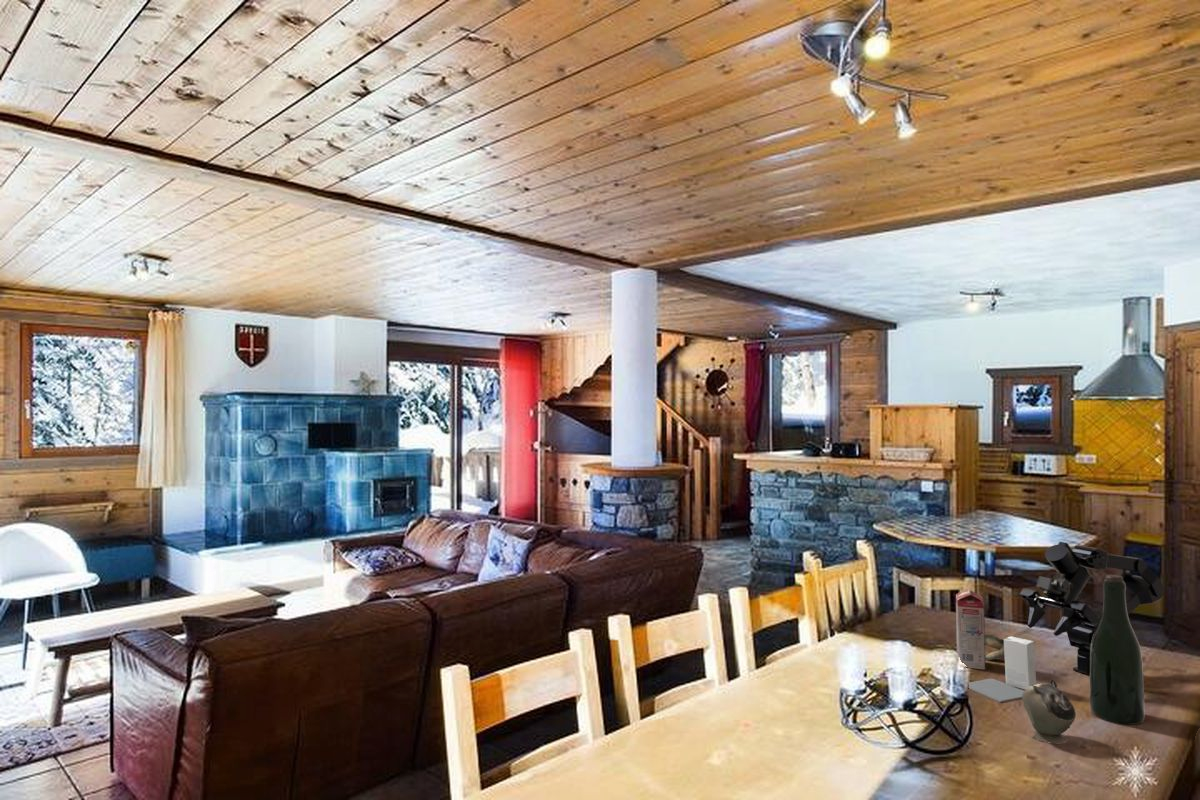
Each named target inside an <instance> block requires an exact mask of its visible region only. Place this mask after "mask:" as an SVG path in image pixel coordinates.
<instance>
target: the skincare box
mask: <svg viewBox="0 0 1200 800" xmlns="http://www.w3.org/2000/svg"><path fill="white" fill-rule="evenodd" d="M1003 640H1004V653H1005V657H1004V669H1005V684H1008V685H1010V686H1013V687H1015V688H1018V689H1020V690H1024V691H1025V690H1026V689H1027V688H1028V687H1030V686H1032V685H1037V676H1036V675H1037V674H1036V657H1035V656H1036V655H1035V654H1036V653H1035V641H1034V640H1030V639H1024V638H1020V637H1017V636H1016V637H1015V636H1012V635H1011V636H1008V637H1006V638H1003Z"/></svg>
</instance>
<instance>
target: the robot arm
mask: <svg viewBox="0 0 1200 800" xmlns="http://www.w3.org/2000/svg"><path fill="white" fill-rule="evenodd" d="M1044 558H1045V559H1046V560H1047V562H1048V563H1050V565H1051V566H1052V567H1053V568H1054V570H1055V571H1056V572H1057V573H1058V574H1060V575H1061V576H1060V577H1059V578H1058V579H1053V578H1049V577H1045V576H1040V575H1039V576H1038V579H1037V581H1036V584H1035V588H1036V589H1041V590H1042V591H1043V594H1044V595H1045V596H1047V598H1046V597H1043V595H1042V594H1040V592H1039V591H1038V590H1035V589H1030V588H1028V587H1027V588H1026V587H1025V588H1023V589H1022V590H1021V591H1020V593H1019V596H1020V597H1021V599H1023V601H1024V602H1025V604H1026V605H1027V606H1028V607H1029V612H1028V618H1027V619H1028V621H1027V626H1028V628H1029V629H1032V628H1033V627H1034V626H1035V625H1036V624H1037V623H1038V622H1039V621H1040V620H1041V619H1042V618H1043V617H1044V616H1045V615H1046V612H1045V610H1044V609H1045V608H1046V607H1050V608H1054V609H1057V610H1061V611H1063V613H1062V614H1063V615H1062V617H1061V618H1060V619H1059V622H1058V623H1057V624H1056V626H1055V628H1054V631H1053V635H1054V636H1055V637H1058V636H1059V635H1061V634H1064V633H1065V632H1066V634H1067V635H1066V636H1067V639H1068V642H1069V645H1070V647H1075V648H1077V655H1076V657H1077V658H1076V663H1077V664H1076V665H1077V666H1075V667H1074V666H1073V667H1072V670H1073V671H1075V672H1079V673H1081V674H1084V675H1087V676H1090V647H1091V641H1092V637H1093V634H1094V632H1095V630H1096V628H1097V626H1098V623H1099V621H1100V619H1101V615H1102V611H1103V607H1102V608H1100V609H1099V610H1098V611H1096V612H1095V610H1094V609H1093V608H1092V607H1091V605H1089V603H1086V602H1082V601H1079V600H1082V599H1083V595H1082V594H1081V593H1082V591H1083V589H1084V588H1085V586H1086V584H1087V583H1090V584H1094V583H1095V579H1094V576H1093V573H1092V572H1089V570H1088V569H1091V570H1097V571H1099V570H1100V571H1101V570H1106V569H1108V568H1111V569H1119V570H1122V574H1121V577H1123V582H1125V585H1126V590H1125V595H1126V608H1127V614H1128V615H1129V614H1131V613H1132V612H1133V611H1134V610H1136V609H1137V608H1138V607H1140V606H1143V605H1150V604H1154V603H1155V602H1158V601H1159V600H1161V599H1162V597H1163V596H1164V594H1165V587H1164V585H1163V583H1162V581H1161V579H1160V576H1159V575H1157V573H1156V572H1154V571H1153V569H1151V568H1149V567H1148V565H1147V562H1146V561H1145V560H1144V559H1142V558H1140V557H1135V556H1134V557H1133V556H1128V555H1127V556H1122V555H1118V554H1117V555H1116V554H1112V553H1108V551H1105V550H1103V549H1100V548H1096V547H1092V546H1086V545H1079V544H1076V545H1074V546H1073V548H1072V547H1070V545H1069V543H1068V542H1065V541H1058V544H1054V545H1052V546H1050V547H1049V548H1047V549H1046V550H1045V552H1044ZM1132 573H1138V575H1135V574H1134V575H1133V574H1132Z"/></svg>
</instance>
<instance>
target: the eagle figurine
mask: <svg viewBox="0 0 1200 800" xmlns="http://www.w3.org/2000/svg"><path fill="white" fill-rule="evenodd" d="M985 646H987V647H990V648H993V649H996V651H992V652H989V653H987V654H985V661H986V660H987V661H992V660H996V659H1000V658H1001V659H1003V658H1004V659H1005V653H1004V638H1003V639H1002V638H999V637H998V636H995V635H994V634H992V633H991V634H985Z"/></svg>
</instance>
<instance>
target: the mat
mask: <svg viewBox="0 0 1200 800" xmlns="http://www.w3.org/2000/svg"><path fill="white" fill-rule="evenodd" d="M968 683H969V689H968V690H970V691H973V692H974V693H978V694H979V695H982V696H984V697H987V698H989V699H991V700H993V701H995V702H997V703H1006V702H1010V701H1015V700H1021V699H1022V694H1023V692H1024V691H1025V690H1024V689H1021V688H1017V687H1014V686H1010V685H1008V684H1006V682H1003V681H1000V680H997V679H996V678H985V679H981V680H975V681H970V682H968Z"/></svg>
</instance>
